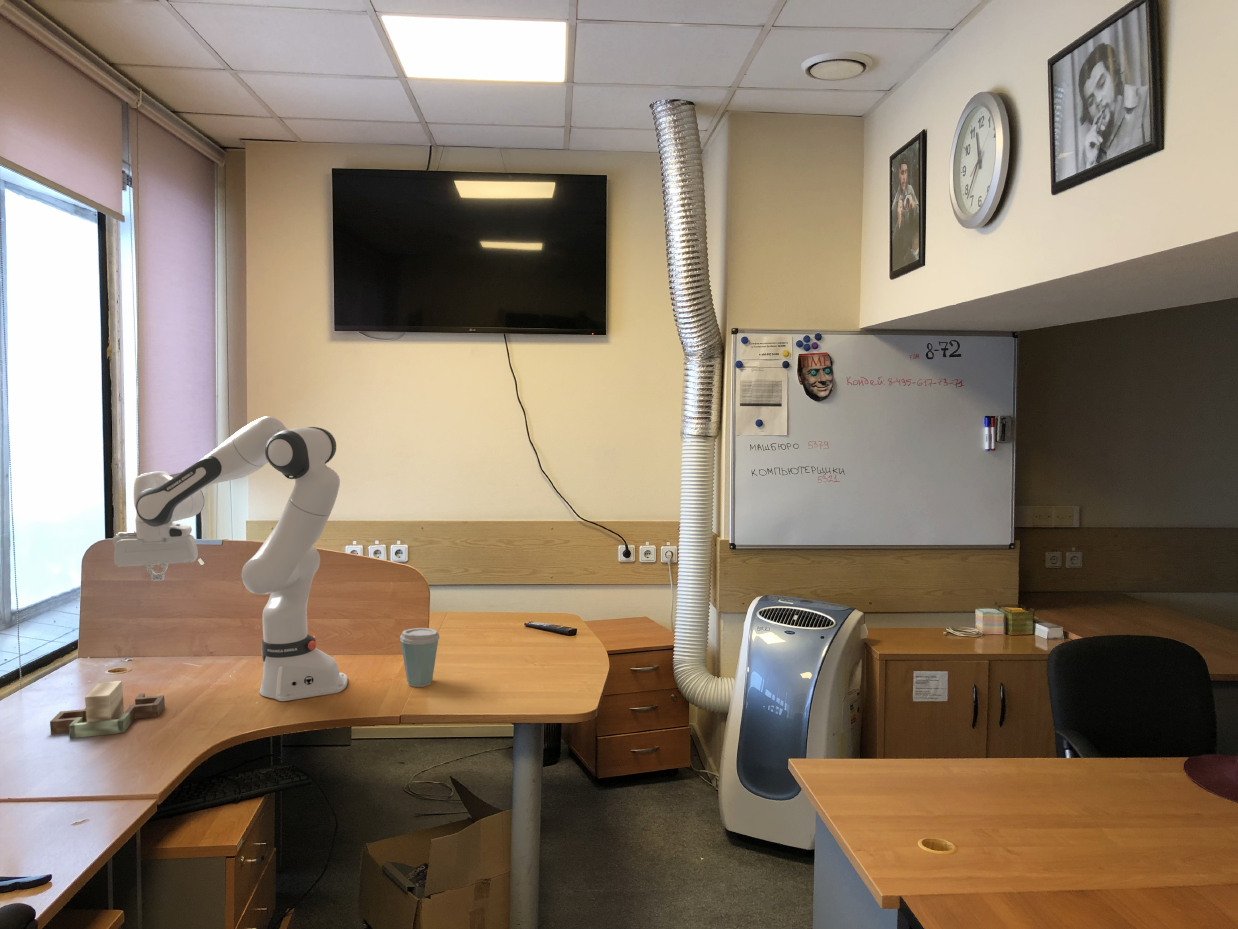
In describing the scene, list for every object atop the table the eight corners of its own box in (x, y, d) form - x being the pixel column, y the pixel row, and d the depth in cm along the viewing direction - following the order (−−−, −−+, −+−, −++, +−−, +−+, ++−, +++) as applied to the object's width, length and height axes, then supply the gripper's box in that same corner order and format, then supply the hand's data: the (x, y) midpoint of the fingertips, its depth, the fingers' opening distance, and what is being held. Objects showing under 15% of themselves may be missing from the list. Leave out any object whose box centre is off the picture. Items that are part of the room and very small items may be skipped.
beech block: (124, 715, 211) (121, 680, 210) (111, 731, 202) (108, 695, 201) (101, 717, 210) (99, 682, 209) (87, 734, 200) (84, 697, 199)
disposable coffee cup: (411, 675, 239) (410, 623, 237) (447, 677, 237) (445, 625, 235) (394, 688, 228) (392, 634, 227) (431, 691, 226) (429, 637, 225)
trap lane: (167, 702, 219) (167, 691, 219) (148, 730, 202) (147, 718, 202) (72, 711, 214) (72, 699, 213) (44, 740, 196) (43, 728, 196)
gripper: (108, 534, 225) (112, 585, 226) (192, 530, 230) (195, 579, 232) (115, 530, 231) (119, 580, 232) (197, 526, 236) (200, 574, 238)
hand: (158, 580), depth 232 cm, fingers closed
